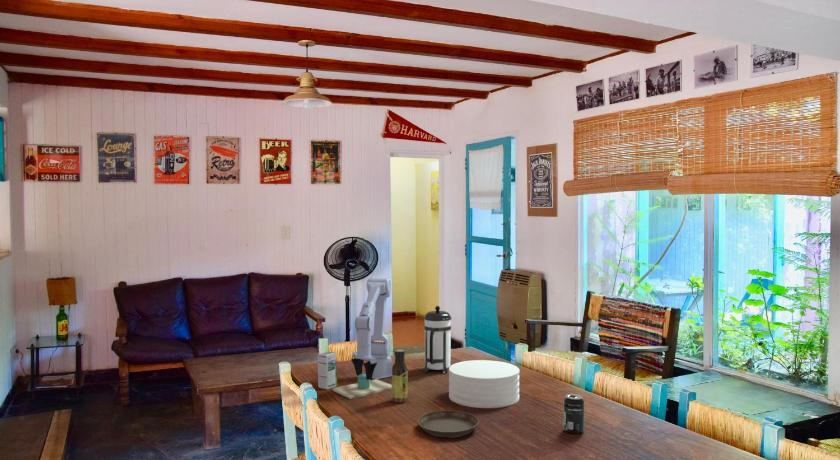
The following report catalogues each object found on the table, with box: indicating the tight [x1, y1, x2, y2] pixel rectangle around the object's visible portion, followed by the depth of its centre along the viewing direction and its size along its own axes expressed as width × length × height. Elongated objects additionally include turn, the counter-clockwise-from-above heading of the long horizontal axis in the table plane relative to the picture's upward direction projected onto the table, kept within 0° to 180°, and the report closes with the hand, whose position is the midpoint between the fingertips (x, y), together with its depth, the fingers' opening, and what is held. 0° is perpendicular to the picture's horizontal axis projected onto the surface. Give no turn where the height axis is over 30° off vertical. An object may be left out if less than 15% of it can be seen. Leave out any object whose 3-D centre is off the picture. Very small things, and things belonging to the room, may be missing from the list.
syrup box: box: [317, 350, 338, 390], centre depth 262 cm, size 6×6×14 cm
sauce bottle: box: [391, 349, 409, 403], centre depth 244 cm, size 7×6×20 cm
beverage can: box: [563, 393, 585, 434], centre depth 211 cm, size 7×7×12 cm
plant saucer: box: [417, 410, 479, 439], centre depth 213 cm, size 21×21×3 cm
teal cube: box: [357, 373, 371, 389], centre depth 258 cm, size 5×5×5 cm
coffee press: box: [422, 305, 452, 374], centre depth 288 cm, size 17×16×30 cm
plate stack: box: [448, 359, 520, 409], centre depth 249 cm, size 28×28×12 cm
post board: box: [332, 379, 392, 400], centre depth 258 cm, size 22×14×5 cm, turn 128°
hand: (364, 377), depth 258 cm, fingers open, 7 cm apart
